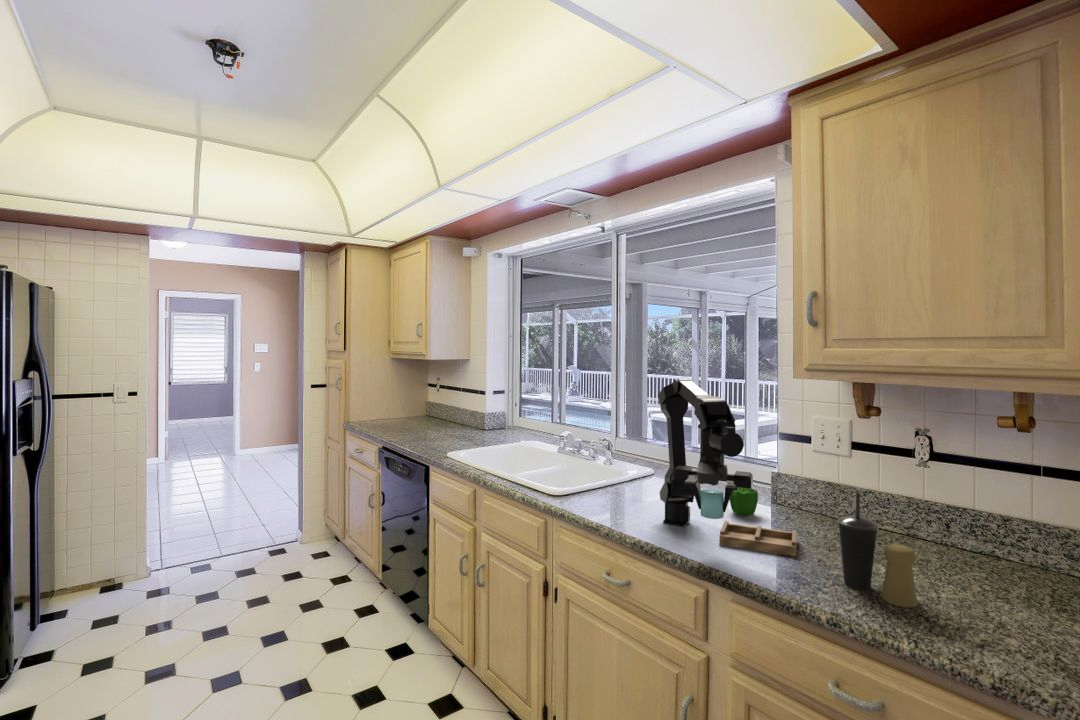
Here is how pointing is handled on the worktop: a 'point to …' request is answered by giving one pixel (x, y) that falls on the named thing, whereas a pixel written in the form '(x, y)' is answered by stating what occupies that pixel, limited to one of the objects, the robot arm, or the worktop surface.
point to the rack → (758, 538)
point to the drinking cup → (857, 548)
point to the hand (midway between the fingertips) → (712, 510)
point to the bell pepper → (744, 501)
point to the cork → (899, 576)
